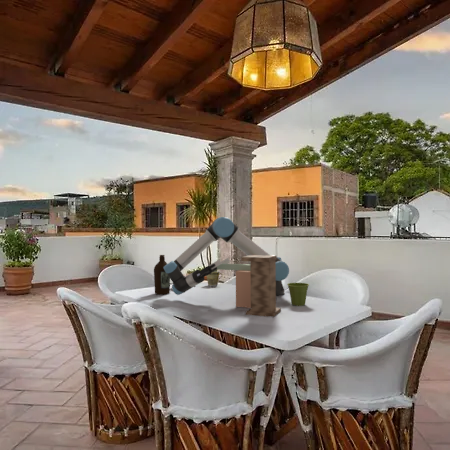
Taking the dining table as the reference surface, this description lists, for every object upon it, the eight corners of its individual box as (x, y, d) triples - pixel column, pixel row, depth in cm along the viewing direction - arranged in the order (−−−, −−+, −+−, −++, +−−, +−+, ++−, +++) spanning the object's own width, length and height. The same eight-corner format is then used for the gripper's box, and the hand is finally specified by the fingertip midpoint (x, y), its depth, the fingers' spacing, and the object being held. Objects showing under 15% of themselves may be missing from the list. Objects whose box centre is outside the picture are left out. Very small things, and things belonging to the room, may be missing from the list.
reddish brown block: (235, 306, 203) (235, 271, 204) (244, 301, 216) (244, 268, 217) (261, 308, 198) (260, 272, 198) (268, 303, 211) (268, 269, 211)
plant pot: (283, 303, 210) (283, 283, 210) (301, 302, 215) (300, 282, 215) (295, 307, 199) (295, 286, 200) (313, 305, 204) (313, 284, 204)
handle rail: (216, 269, 212) (216, 262, 212) (220, 268, 218) (220, 261, 218) (260, 271, 202) (260, 263, 202) (264, 270, 208) (264, 262, 208)
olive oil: (150, 293, 246) (150, 255, 246) (164, 291, 253) (164, 254, 253) (160, 295, 238) (159, 255, 238) (173, 293, 245) (173, 254, 245)
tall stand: (241, 314, 185) (241, 257, 185) (250, 308, 198) (250, 255, 198) (273, 317, 179) (273, 257, 179) (280, 310, 192) (280, 255, 192)
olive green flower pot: (203, 286, 276) (203, 272, 277) (210, 284, 285) (210, 270, 285) (219, 287, 270) (219, 273, 270) (225, 285, 279) (225, 271, 279)
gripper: (207, 281, 231) (235, 264, 224) (188, 287, 208) (219, 268, 201) (201, 270, 232) (229, 253, 226) (182, 274, 209) (212, 256, 202)
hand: (225, 260), depth 213 cm, fingers open, 13 cm apart
